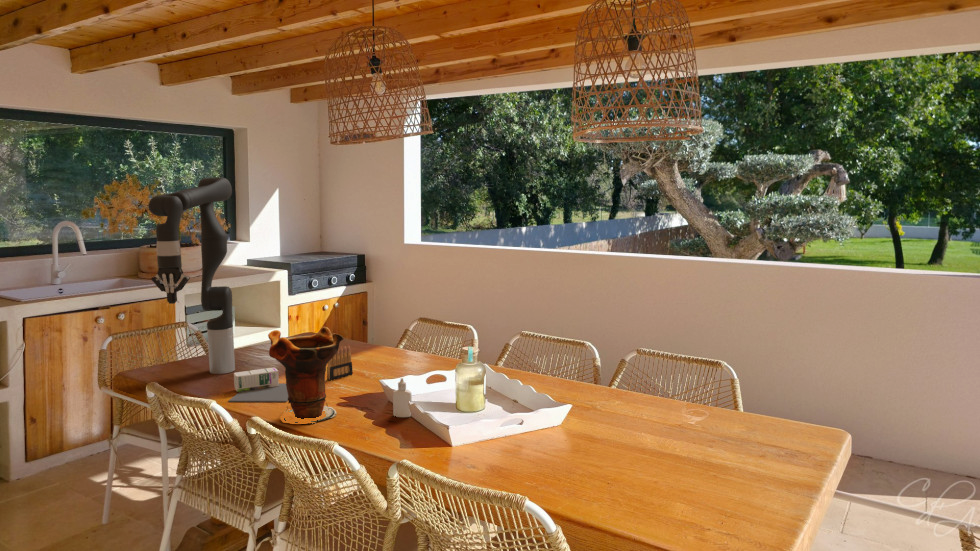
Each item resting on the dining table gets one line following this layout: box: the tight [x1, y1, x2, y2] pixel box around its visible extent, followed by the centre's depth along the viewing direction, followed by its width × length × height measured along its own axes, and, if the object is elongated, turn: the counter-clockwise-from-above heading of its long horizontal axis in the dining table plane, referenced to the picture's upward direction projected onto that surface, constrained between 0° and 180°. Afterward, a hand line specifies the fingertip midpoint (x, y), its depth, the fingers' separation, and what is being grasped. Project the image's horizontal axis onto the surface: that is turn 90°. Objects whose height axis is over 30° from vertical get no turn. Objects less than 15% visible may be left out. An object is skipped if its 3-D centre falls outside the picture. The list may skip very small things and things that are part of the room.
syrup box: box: [233, 366, 280, 393], centre depth 240 cm, size 6×6×14 cm
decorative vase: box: [267, 326, 345, 423], centre depth 211 cm, size 21×23×28 cm
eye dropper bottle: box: [392, 377, 413, 418], centre depth 211 cm, size 4×6×12 cm
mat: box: [228, 382, 289, 403], centre depth 235 cm, size 20×19×1 cm
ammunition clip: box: [326, 343, 354, 381], centre depth 254 cm, size 11×2×12 cm, turn 141°
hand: (172, 303), depth 236 cm, fingers closed
